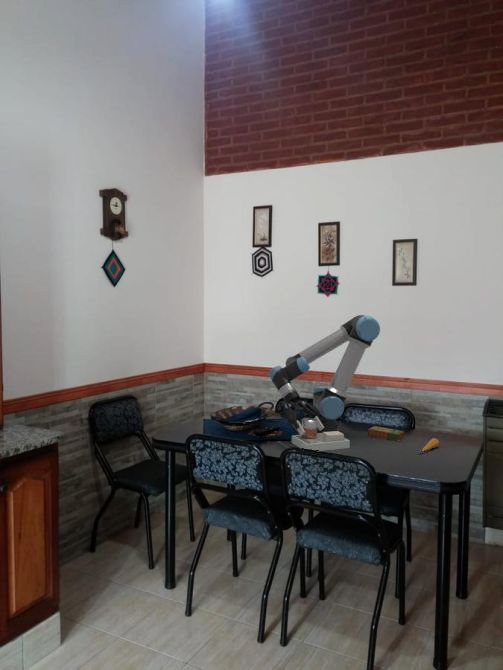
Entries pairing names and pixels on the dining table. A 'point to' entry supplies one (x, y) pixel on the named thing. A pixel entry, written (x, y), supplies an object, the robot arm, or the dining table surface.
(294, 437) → the tote
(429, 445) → the carrot
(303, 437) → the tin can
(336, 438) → the beige rectangular block
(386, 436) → the carton
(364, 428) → the dining table surface
